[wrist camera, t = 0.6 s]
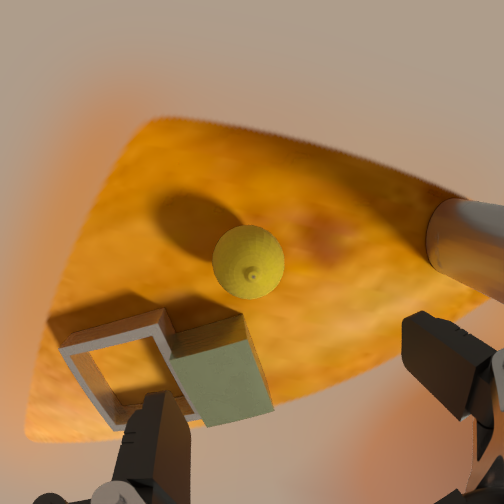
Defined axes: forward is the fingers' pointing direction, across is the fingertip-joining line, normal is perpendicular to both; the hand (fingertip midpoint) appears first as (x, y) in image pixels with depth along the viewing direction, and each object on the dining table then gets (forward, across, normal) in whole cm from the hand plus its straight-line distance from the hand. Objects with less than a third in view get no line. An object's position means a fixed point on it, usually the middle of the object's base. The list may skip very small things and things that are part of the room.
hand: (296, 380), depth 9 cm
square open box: (+19, +10, +9) cm, 24 cm away
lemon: (+19, 0, 0) cm, 19 cm away
